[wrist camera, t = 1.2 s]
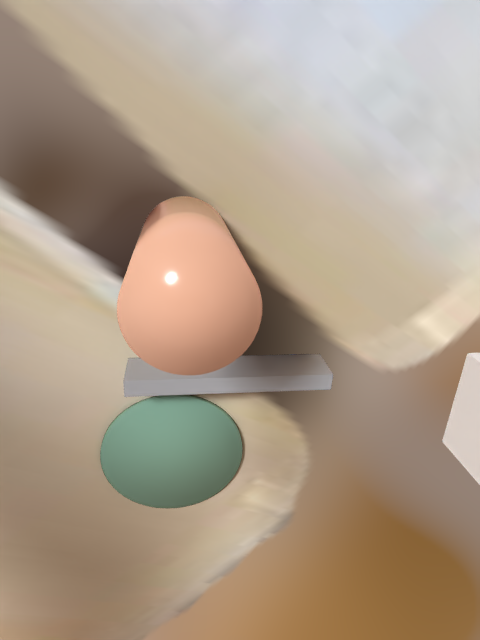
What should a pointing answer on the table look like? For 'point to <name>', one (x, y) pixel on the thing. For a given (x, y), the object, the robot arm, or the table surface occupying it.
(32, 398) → the table surface
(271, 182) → the table surface
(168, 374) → the rail
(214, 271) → the peach rounded cylinder
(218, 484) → the pad
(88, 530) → the table surface
